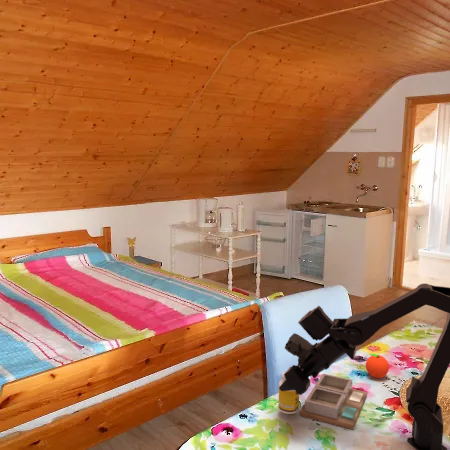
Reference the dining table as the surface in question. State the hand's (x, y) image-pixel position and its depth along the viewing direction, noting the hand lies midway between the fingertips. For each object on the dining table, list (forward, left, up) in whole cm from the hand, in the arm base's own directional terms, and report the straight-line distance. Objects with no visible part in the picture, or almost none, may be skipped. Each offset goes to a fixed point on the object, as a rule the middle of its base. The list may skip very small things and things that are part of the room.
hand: (284, 384), depth 126 cm
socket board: (-1, -15, -8) cm, 17 cm away
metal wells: (0, -14, -7) cm, 16 cm away
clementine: (+11, -36, -8) cm, 39 cm away
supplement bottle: (-1, -1, -7) cm, 7 cm away
